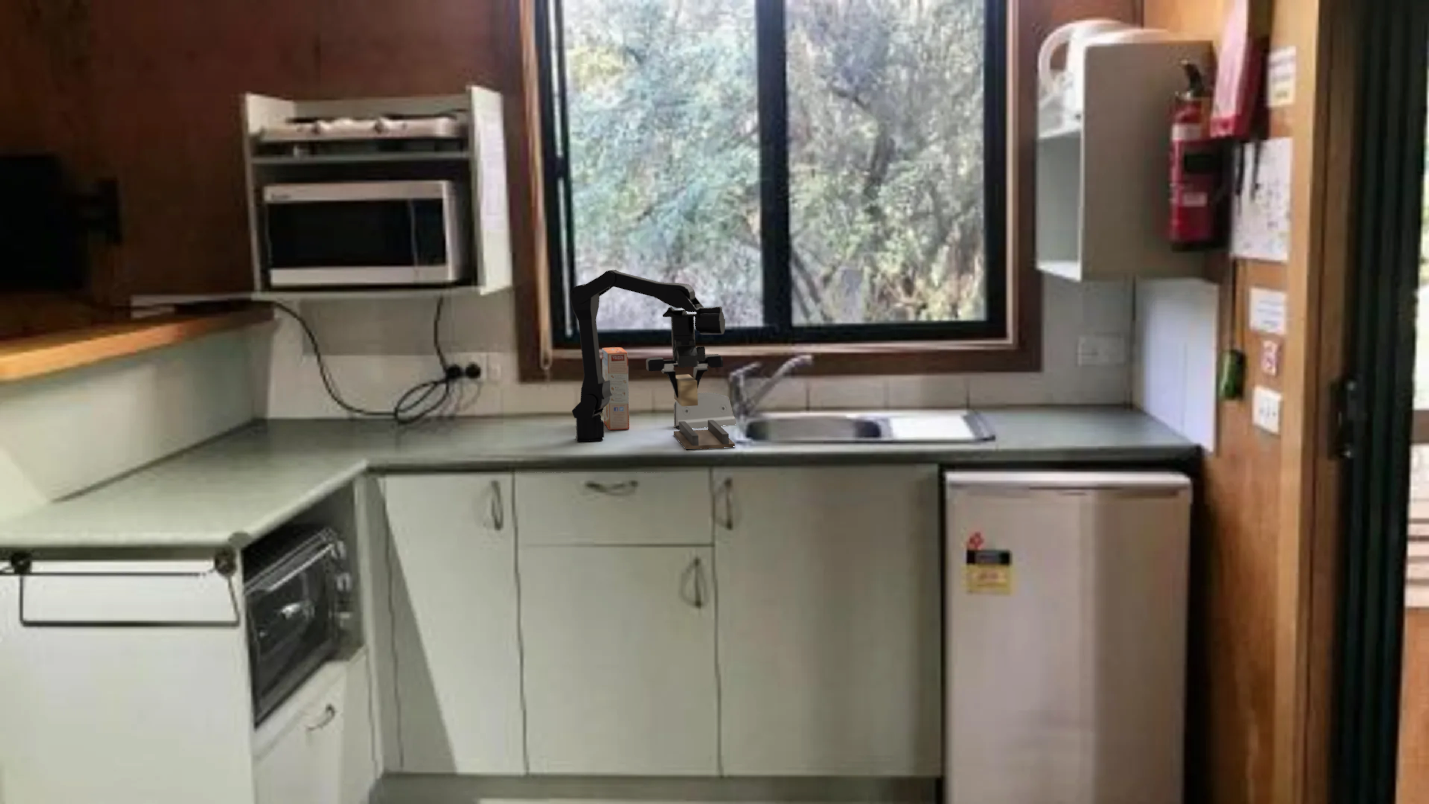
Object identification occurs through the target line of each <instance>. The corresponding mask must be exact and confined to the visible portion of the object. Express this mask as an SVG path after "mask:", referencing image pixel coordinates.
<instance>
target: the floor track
mask: <svg viewBox="0 0 1429 804" xmlns="http://www.w3.org/2000/svg"><path fill="white" fill-rule="evenodd" d="M678 429H679V430H673V436H674V437H675V438H676V439H677V440H679V441H680V442H679V441H678V442H679V443H680V444H681V443H682V444H681V446H682V447H683V446H684V447H685V448H684V447H683V448H684V449H685V450H686V449H701V450H710V449H709V448H720V449H725V448H724V447H733V446H735V447H736V443H735V442H734V441H733V440H732V439H731V438H729V437H730V436H729V434H730V433H728V432H727V431H726V430H725V429H724V428H723V426H722V427H721V426H720V425H719V424H717V423H716V422H715V421H714V420H708V428H707V429H692V428H691V427H690V426H689V425H688V424H687V423H686V422H685V421H679V427H678Z"/></svg>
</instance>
